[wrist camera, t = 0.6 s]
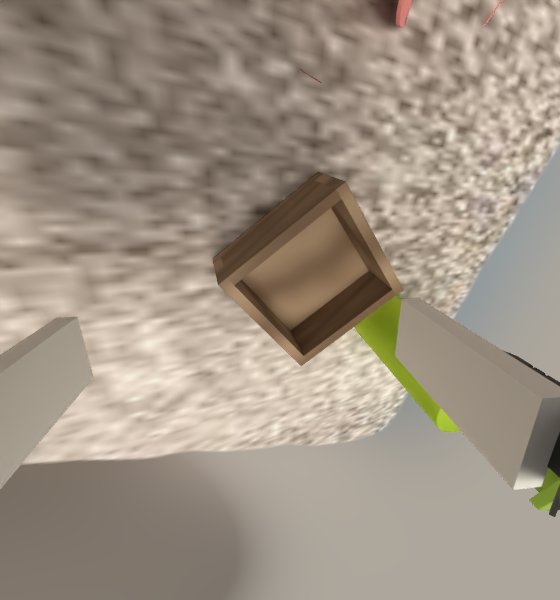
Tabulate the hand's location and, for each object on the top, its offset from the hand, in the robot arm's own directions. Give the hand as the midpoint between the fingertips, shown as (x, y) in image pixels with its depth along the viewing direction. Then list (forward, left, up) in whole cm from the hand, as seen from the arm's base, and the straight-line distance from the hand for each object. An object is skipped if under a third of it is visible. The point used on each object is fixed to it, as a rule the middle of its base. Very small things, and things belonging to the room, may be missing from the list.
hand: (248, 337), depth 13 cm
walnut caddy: (+4, +7, -15) cm, 17 cm away
